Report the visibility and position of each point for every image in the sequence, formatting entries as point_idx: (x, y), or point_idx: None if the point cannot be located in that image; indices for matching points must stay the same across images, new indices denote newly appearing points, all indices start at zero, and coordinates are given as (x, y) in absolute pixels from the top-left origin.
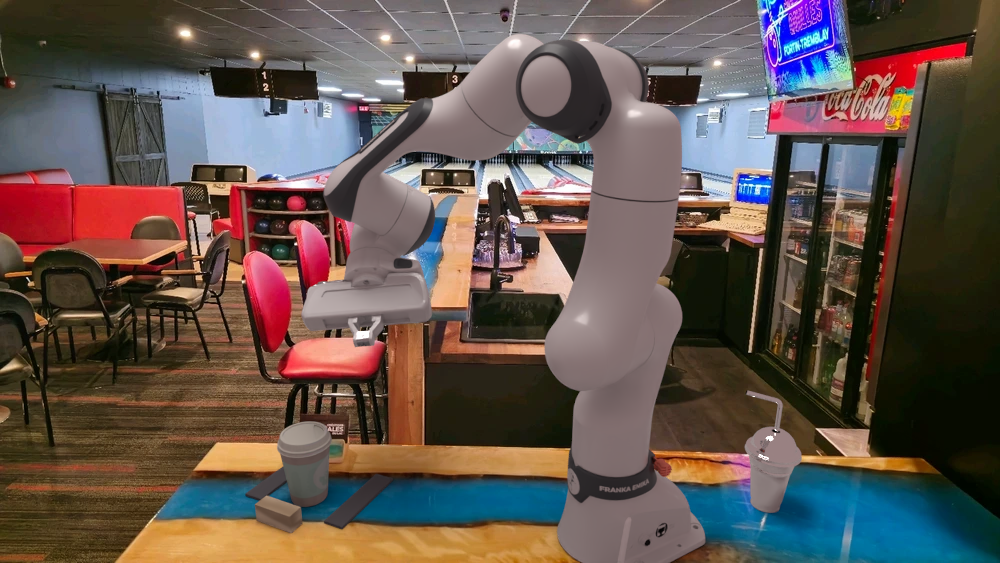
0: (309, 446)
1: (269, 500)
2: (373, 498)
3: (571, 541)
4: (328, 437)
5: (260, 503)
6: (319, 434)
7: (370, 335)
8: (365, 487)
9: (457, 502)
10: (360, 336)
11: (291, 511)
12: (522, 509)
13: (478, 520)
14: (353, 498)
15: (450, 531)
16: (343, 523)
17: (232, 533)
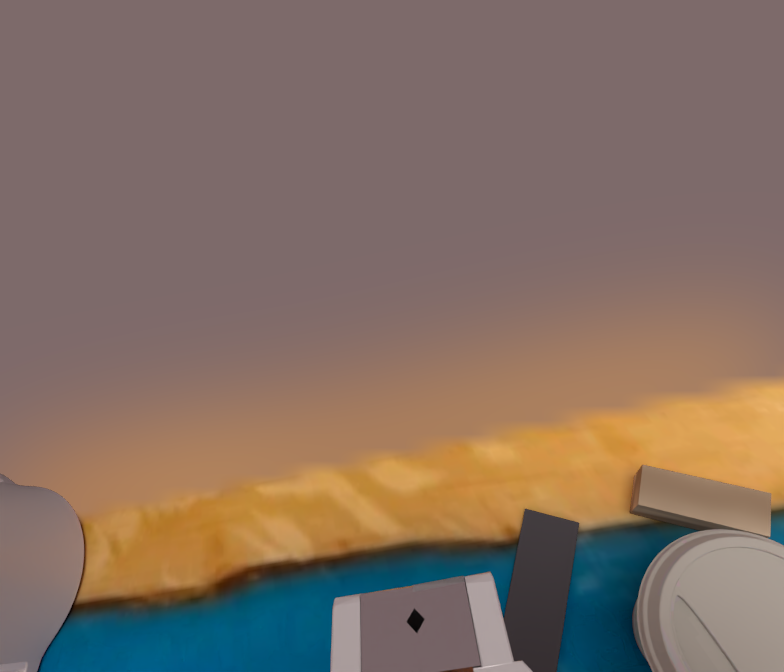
0: (677, 554)
1: (743, 516)
2: None
3: (53, 514)
4: (655, 647)
5: (758, 500)
6: (697, 651)
7: (346, 628)
8: None
9: (285, 660)
10: (435, 612)
11: (651, 484)
12: (139, 653)
13: (235, 594)
14: (550, 627)
15: (290, 545)
16: (527, 521)
17: (774, 450)
